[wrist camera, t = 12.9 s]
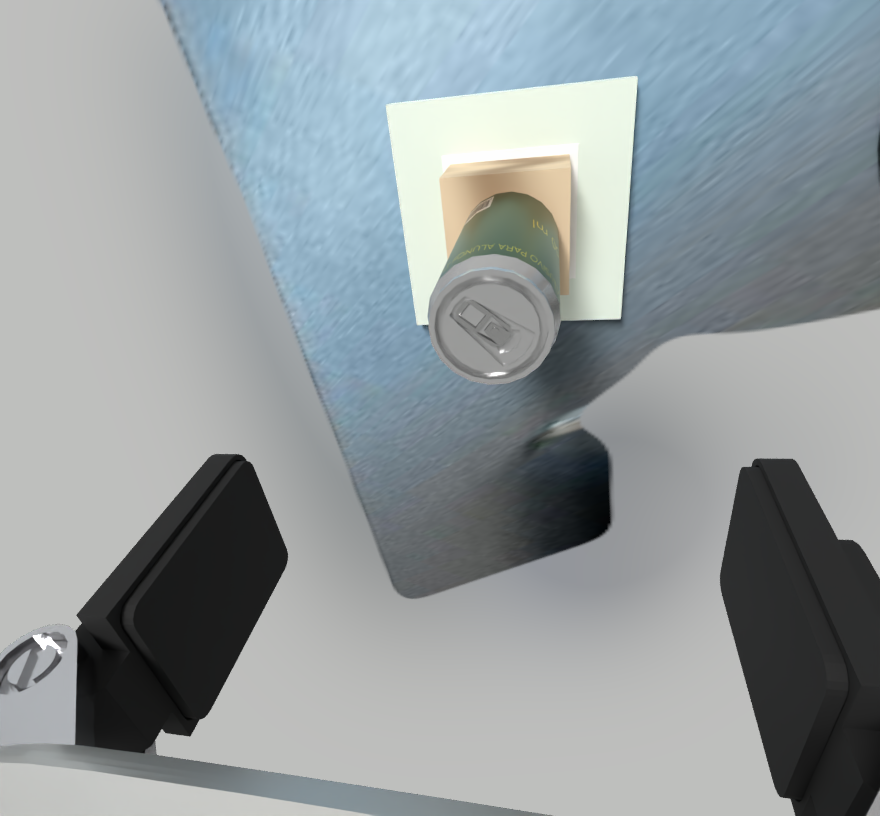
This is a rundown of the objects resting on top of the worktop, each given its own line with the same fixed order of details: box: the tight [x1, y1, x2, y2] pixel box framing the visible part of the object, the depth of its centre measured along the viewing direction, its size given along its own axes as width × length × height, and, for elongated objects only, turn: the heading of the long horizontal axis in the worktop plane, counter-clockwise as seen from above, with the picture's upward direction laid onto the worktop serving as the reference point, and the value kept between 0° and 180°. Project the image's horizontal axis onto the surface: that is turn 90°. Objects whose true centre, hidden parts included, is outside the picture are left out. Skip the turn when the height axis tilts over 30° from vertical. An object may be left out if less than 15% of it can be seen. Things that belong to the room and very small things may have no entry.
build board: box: [386, 76, 638, 325], centre depth 35 cm, size 14×14×1 cm
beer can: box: [427, 191, 561, 385], centre depth 27 cm, size 5×5×12 cm
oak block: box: [439, 154, 571, 295], centre depth 33 cm, size 7×7×4 cm
